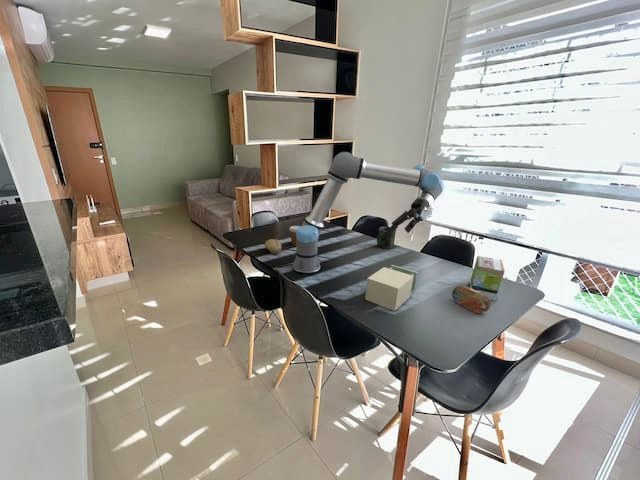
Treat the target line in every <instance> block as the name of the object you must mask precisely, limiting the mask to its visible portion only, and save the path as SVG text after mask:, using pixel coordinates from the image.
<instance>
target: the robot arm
mask: <svg viewBox="0 0 640 480" xmlns="http://www.w3.org/2000/svg"><path fill="white" fill-rule="evenodd" d="M327 176H328V177H327V179H326V181H325V182H324V185H323V187H322V189H321V192H320V194H319V195H318V197H317V199H316V202H315V203H314V205H313V208H312V210H311V212H310V214H309V215H308V216H305V218H304V220H303V222H302V224H301V225H300V226H301V227H299V228H298V229H297V232H296V246H295V249H296V250H295V258H294V261H293V263H288V264H283V265H278V266H277V267H278V268H284V267H291V266H292V270H293V271H294V272H296V273H298V274H302V275H303V274H304V275H312V274H316V273H319V272H320V270H321V263H320V258H319V257H318V250H319V249H318V248H319V246H318V245H319V237H320V235H321V233H322V232H323V231H322V230H323V229H324V227H325V225H324V221H325V219H326V217H327V215H328V214H329V211H330V210H331V208H332V206H333V204H334V203H335V201H336V198H337V196H338V194H339V193H340V191H341V189H342V186H343V185H344V184H347V183H348V182H349V180H350V179H356V180H360V179H362V178H363V179H369V180H376V181H382V182H386V183H387V182H388V183H392V184H399V185H406V186H412V187H417V188H419V189H420V191H421V193H419V195H418V196H417V197H416V198H415V199H414V200H413V201H412V203H411V204H410V209H409V210H405V211H404V212H402V214H400V216H398V217H397V218H395V219H394V220H393V221H392V222H391V225H390V226H389V227H390V228H389V229H388V230H387V234H388V235H389V236H390V235H391V234H392V233H393V232H394V231H395V230H397V229H398V227H399V226H400V225H402V224H404V223H405V222H406V221H408V220H410V222H408V224H407V225H405V227H404V231H406V233H408V234H409V233H410V232H412V230H413V229H414V227H415V226H416V225H417V224H419V223H420V222H423V221H424V219H425V216H426V213H427V212H428V209H429V208H430V207H431V206H432V205H433V204H434V202H435V201H436V200H437V199H438V197H439V196H440V195H441V194H442V193H443V192H444V190H445V189H446V185H445V182H444V181H442V180H441V178H440V176H439V175H438V174H437V172H433V171H430V170H428V169H426V167H425V166H424V165H423V164H422V163H419V164H417V165H415V166H413V168H410V167H409V168H408V167H402V166H397V165H391V164H386V163H385V164H384V163H378V162H374V161H373V162H372V161H367V160H365V158H362V157H358V156H354V155H353V154H352V153H351V152H348V151H341V152H339V153H338V154H336V155H335V156H334V158H333V159H332V163H331V165H330V167H329V169H328V170H327ZM412 218H413V219H412Z"/></svg>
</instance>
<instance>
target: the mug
mask: <svg viewBox="0 0 640 480" xmlns="http://www.w3.org/2000/svg"><path fill="white" fill-rule="evenodd" d="M390 227H391V226H380V227H378V234H377V235H376V242H377V247H379V248H381V249H385V250H386V249H387V250H388V249H393V248H394V246H395V240H396V233H397V229H396V230H395V231H394V232H393V233H392V234H391V235H390V236H389V235H388V234H387V230H388V229H389V228H390Z"/></svg>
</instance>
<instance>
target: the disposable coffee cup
mask: <svg viewBox="0 0 640 480" xmlns="http://www.w3.org/2000/svg"><path fill="white" fill-rule="evenodd" d="M299 227H301V225H292V226H290V227H289V229H288V230H289V234H290V235H289V236H290V241H291V245H292V246H295V247H296V232H297V229H298V228H299Z"/></svg>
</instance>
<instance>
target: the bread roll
mask: <svg viewBox="0 0 640 480" xmlns="http://www.w3.org/2000/svg"><path fill="white" fill-rule="evenodd" d="M282 247H283V246H282V244H281V241H280V240H279V239H278V238H270V239H267V240H266V241H265V242H264V248H265V249H266V250H268V252H270V254H273V255H278V254H280V253H281V252H282Z"/></svg>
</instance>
